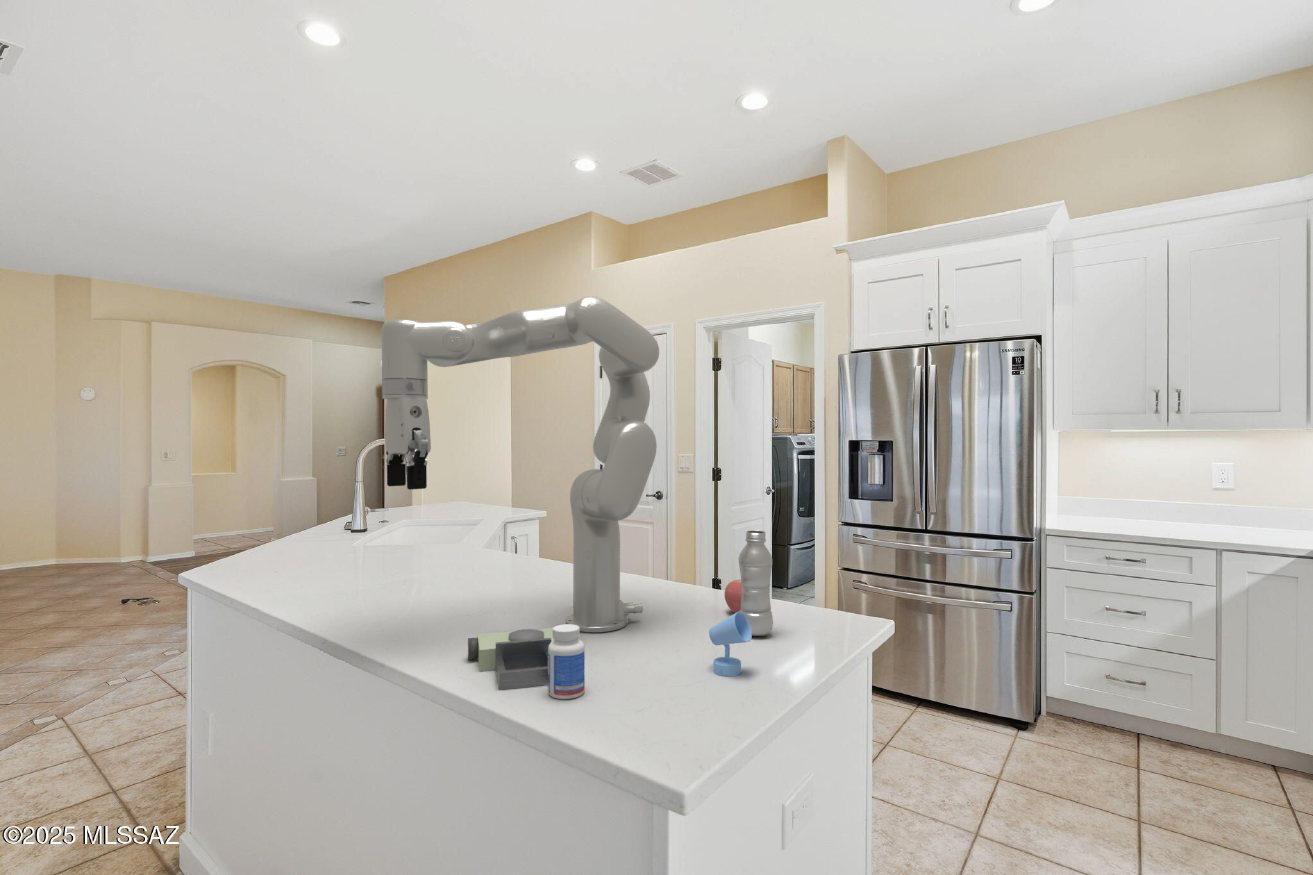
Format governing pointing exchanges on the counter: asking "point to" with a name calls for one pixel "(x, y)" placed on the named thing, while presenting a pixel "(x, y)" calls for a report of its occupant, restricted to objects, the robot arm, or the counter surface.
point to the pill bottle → (566, 663)
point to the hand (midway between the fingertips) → (406, 487)
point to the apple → (734, 595)
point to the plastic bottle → (756, 583)
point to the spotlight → (730, 642)
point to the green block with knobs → (485, 643)
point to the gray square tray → (522, 663)
